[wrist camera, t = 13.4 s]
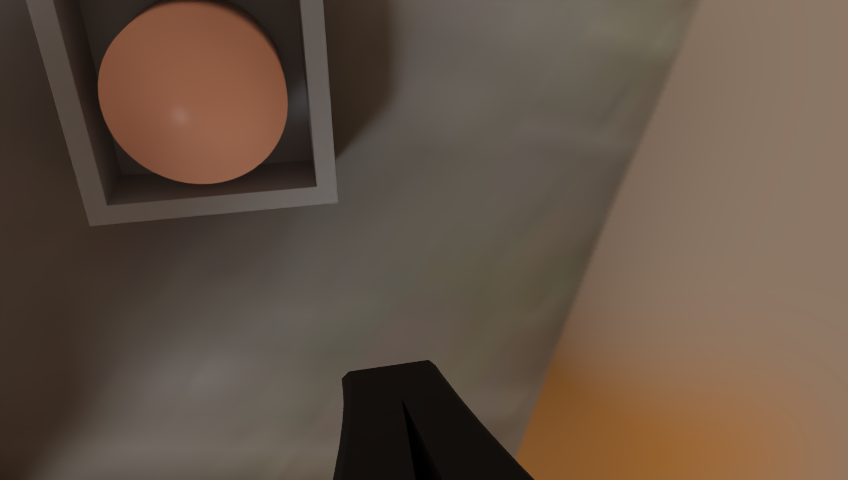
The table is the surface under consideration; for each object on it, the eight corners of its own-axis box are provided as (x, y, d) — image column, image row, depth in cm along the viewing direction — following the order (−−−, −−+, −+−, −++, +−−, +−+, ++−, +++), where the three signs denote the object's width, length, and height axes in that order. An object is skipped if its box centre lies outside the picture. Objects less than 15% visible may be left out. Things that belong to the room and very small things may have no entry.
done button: (292, 148, 17) (295, 176, 16) (135, 160, 17) (121, 191, 15) (275, -9, 16) (277, 3, 14) (97, -4, 15) (76, 10, 13)
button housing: (329, 167, 19) (338, 202, 17) (110, 185, 18) (89, 226, 16) (311, -58, 16) (319, -50, 14) (49, -53, 15) (13, -44, 13)
